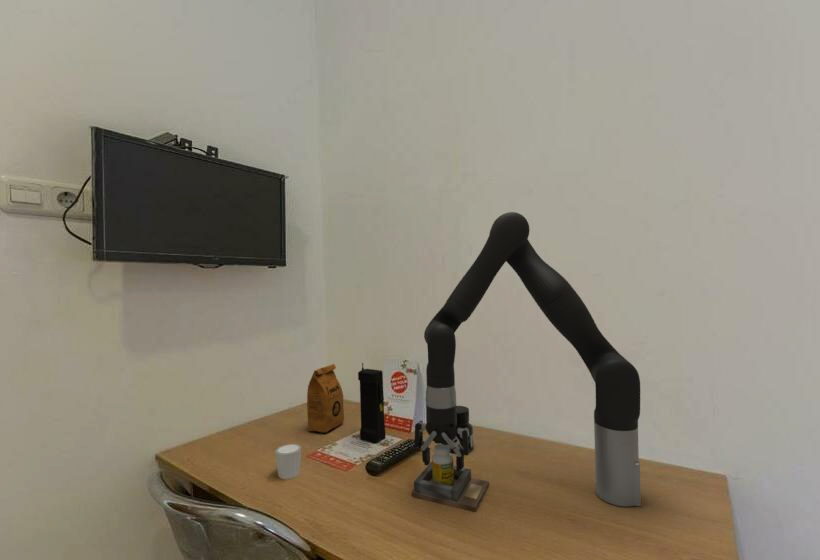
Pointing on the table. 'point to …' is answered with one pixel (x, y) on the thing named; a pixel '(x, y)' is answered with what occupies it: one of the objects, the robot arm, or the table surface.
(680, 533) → the table surface
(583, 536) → the table surface
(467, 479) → the socket stand
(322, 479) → the table surface
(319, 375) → the coffee package
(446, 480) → the supplement bottle
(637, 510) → the table surface
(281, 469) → the white tapered cylinder
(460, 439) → the ink bottle
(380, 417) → the portable radio
